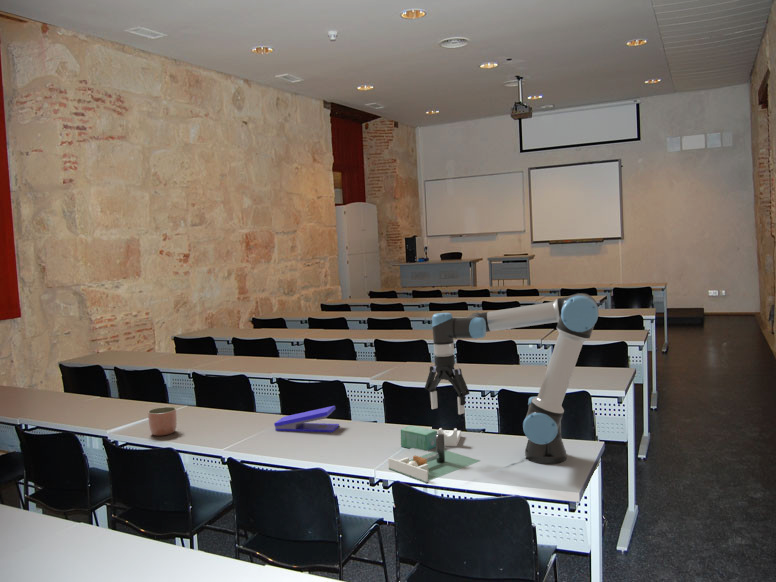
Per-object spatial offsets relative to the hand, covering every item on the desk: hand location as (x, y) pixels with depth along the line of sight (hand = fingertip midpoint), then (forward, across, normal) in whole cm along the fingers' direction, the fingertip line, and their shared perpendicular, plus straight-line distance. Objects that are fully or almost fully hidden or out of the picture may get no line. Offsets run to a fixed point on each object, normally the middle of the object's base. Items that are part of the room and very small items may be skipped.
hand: (447, 411), depth 234 cm
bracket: (+20, +16, -18) cm, 31 cm away
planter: (+16, +126, +58) cm, 140 cm away
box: (+20, +22, -5) cm, 30 cm away
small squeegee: (+18, +2, +8) cm, 20 cm away
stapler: (+18, +81, +9) cm, 83 cm away
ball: (+17, +2, +18) cm, 24 cm away
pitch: (+20, +2, +7) cm, 21 cm away
